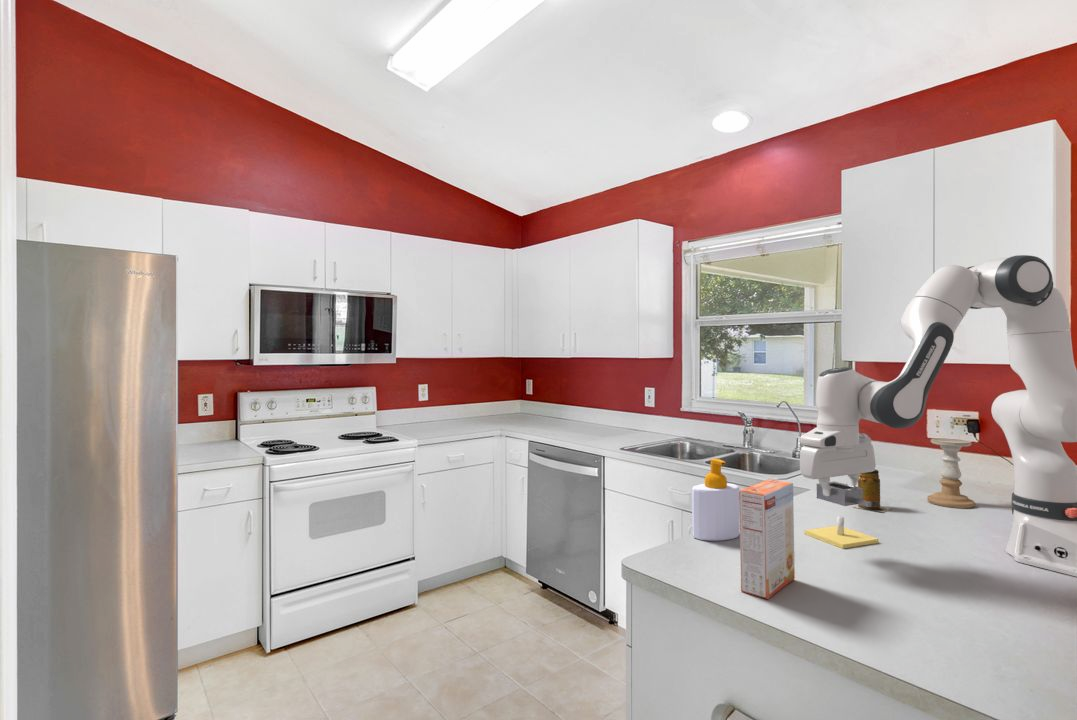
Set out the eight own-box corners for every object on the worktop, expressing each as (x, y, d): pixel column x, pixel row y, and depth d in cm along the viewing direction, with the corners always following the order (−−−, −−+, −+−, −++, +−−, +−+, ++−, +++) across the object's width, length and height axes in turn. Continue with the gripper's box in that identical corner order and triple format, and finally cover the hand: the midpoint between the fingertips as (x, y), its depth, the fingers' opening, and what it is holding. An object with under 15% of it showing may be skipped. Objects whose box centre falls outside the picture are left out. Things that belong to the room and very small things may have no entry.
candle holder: (978, 510, 168) (978, 444, 168) (928, 505, 174) (928, 441, 174) (972, 501, 178) (972, 439, 178) (925, 496, 185) (925, 436, 185)
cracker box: (767, 572, 122) (767, 477, 122) (795, 580, 117) (795, 482, 117) (738, 591, 112) (737, 488, 112) (767, 600, 108) (767, 494, 108)
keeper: (878, 542, 140) (878, 521, 140) (842, 548, 136) (842, 526, 136) (838, 528, 151) (838, 508, 151) (804, 533, 147) (804, 513, 147)
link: (878, 507, 125) (878, 492, 125) (860, 510, 123) (859, 494, 123) (834, 495, 136) (834, 481, 136) (816, 498, 134) (816, 483, 134)
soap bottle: (702, 543, 141) (702, 464, 141) (685, 533, 149) (685, 458, 148) (747, 538, 144) (746, 461, 144) (728, 529, 152) (728, 455, 152)
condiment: (861, 503, 177) (861, 466, 177) (891, 509, 171) (891, 470, 171) (852, 507, 173) (852, 469, 173) (882, 513, 166) (882, 473, 166)
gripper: (858, 431, 138) (860, 486, 138) (794, 437, 131) (796, 495, 131) (881, 434, 132) (883, 491, 132) (815, 441, 125) (817, 501, 125)
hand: (839, 493), depth 132 cm, fingers closed on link, 6 cm apart
